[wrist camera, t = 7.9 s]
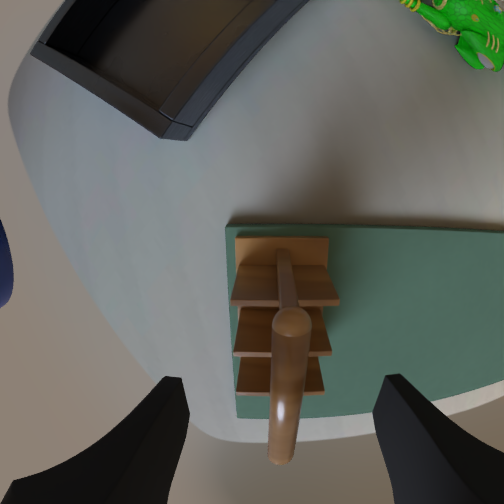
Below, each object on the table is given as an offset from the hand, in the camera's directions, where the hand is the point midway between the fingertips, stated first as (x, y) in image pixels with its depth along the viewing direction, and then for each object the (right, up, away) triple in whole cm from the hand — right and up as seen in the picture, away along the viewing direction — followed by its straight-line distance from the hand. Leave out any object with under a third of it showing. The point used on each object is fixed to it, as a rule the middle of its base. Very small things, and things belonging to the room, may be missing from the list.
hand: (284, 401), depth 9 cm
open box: (-4, +18, +2) cm, 19 cm away
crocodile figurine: (+15, +18, +1) cm, 24 cm away
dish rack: (0, +2, +6) cm, 7 cm away
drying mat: (+15, 0, +7) cm, 16 cm away
